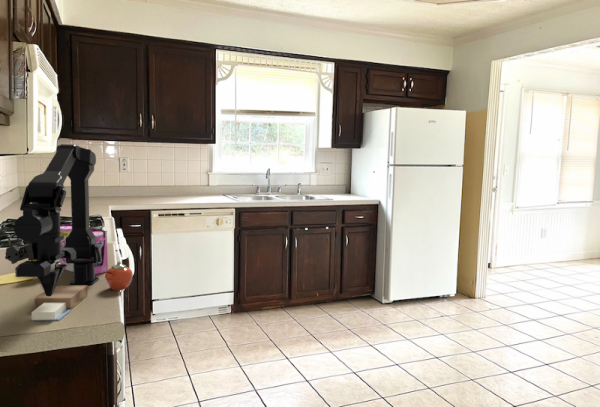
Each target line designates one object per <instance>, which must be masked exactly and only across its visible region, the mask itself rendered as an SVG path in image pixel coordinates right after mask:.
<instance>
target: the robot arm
mask: <svg viewBox="0 0 600 407" xmlns="http://www.w3.org/2000/svg"><path fill="white" fill-rule="evenodd" d="M96 161H97V157H96V153H94V151H93V150H91V149H90V148H84V147H82V146H80V145H77V144H65V143H63V144H62V143H61V144H59V145H58V144H57V146H56V149H55V153H54V156H53V157H52V158H51V160H50V161H49V164H47V167H46V169H45V170H44V172H43V173H41V174H37V175H36V176H33V178H32V179H31V180H30V181H29V183H28V185H26V186H25V189H24V193H23V198H22V199H21V200H22V201H21V204H20V207H19V211H21V212H22V215H21V216H19V217H18V218H17V219H16V220H15V221H14V224H13V232H14V234H15V236H16V237H17V238H19V239H20V240H23V241H26V242H28V244H25V245H21V246H18V245H17V244H14V245H12V246H8V247H6V249H5V257H4V258H5V260H7V261H8V262H11V265H14V264H17V263H18V262H20V261H23V260H26V259H28V260H26V261H23V262H20V263H19V264H18V265H17V266H16V267H15V270H14V273H15V278H37V277H38V280H39V282H40V284H41V287H42V289H43V291H44V292H45V294H46V296H52V295H53V293H54V290H55V288H56V286H57V285H58V284H59V281H60V279H61V277H62V275H63V273H64V271H65V267H66V266H67V265H66V264H69V263H73V268H74V272H73V280H71V281H70V282H69V283H68V285H87V286H89V285H93V284H94V283H96V282H97V281H98V280H99V279H100V277H99V276H96V274H95V265H94V263H95V264H96V263H98V262H101V252H100V249H99V247H98V245H97V243H96V237H95V235H94V234H93V232H92V231H91V230H90V228H91V227H90V196H89V195H90V193H89V190H90V189H89V179H90V178H91V176H92V174H93V173H94V171H95V166H96V163H97V162H96ZM67 177H68V179H69V180H70V202H71V203H70V204H71V205H70V206H71V212H70V213H71V224H72V231H71V232H70V234H69V235H68V237H66V239H65V242H66V244H65V247H64V248H61V240H63V239H64V235H61V231H60V225H61V213H60V212H62V207H63V205H64V202H65V198H66V196H67V190H66V188H65V186H64V184H65V181H66V179H67ZM93 257H94V258H93ZM62 258H66V264H61V262H59V260H60V259H62ZM31 260H37V261H31ZM44 292H43V293H44Z"/></svg>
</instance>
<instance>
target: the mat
mask: <svg viewBox="0 0 600 407" xmlns="http://www.w3.org/2000/svg"><path fill="white" fill-rule="evenodd" d="M71 311H72V310H65V311H64V312H62V313H61V314H60V315H59V316H58V317H57V318H56V319H55V320H54V321H61V320H62V319H64V317H66V316H67V315H68V314H70V313H71ZM29 321H36V322H37V321H38V320H32V318H30V320H29Z"/></svg>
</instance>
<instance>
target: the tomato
mask: <svg viewBox="0 0 600 407" xmlns="http://www.w3.org/2000/svg"><path fill="white" fill-rule="evenodd" d="M133 276H134V275H133V270H132V269H131V268H130V267H128V266H127V264H122V263H121V261H120V260H119V261H117V263H116V264H114V265H112V266H111V268H108V271H107V272H105V277H104V278H105V282H106V284H107V285H108V286H109V288H110V289H112V291H123V290H126V289H127V288H128V287H129V286H130V285H131V282H132V281H133Z"/></svg>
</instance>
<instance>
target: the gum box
mask: <svg viewBox="0 0 600 407" xmlns="http://www.w3.org/2000/svg"><path fill="white" fill-rule="evenodd" d="M90 230H91V231H92V232H93V234H94V235H95V237H96V243H97V245H98V247H99V249H100V252H101V262H98V263H96V264H95V263H94V265H95V275H99V274H102V273H106V272H107V271H108V270H109V261H108V260H109V259H108V236H107V234H108V233H107V232H108V231H107V230H104V229H99V228H95V227H94V228H93V227H90ZM60 231H61V235H64V239H63V240H61V248H64V247H65V244H66V242H65V239H66V237H68V235H69V234H70V232H71V231H72V223H65V224H60ZM93 258H94V257H93ZM59 262H61V264H66V258H62V259H60V260H59ZM66 265H67V266H66V267H65V269H64V271H68V272H72V273H74V268H73V263H69V264H66Z"/></svg>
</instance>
